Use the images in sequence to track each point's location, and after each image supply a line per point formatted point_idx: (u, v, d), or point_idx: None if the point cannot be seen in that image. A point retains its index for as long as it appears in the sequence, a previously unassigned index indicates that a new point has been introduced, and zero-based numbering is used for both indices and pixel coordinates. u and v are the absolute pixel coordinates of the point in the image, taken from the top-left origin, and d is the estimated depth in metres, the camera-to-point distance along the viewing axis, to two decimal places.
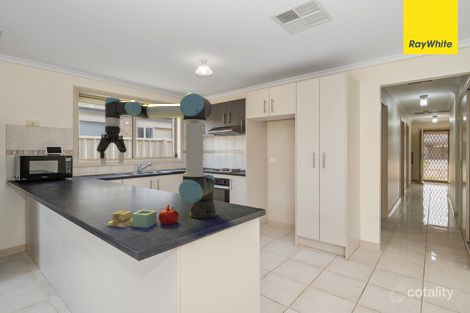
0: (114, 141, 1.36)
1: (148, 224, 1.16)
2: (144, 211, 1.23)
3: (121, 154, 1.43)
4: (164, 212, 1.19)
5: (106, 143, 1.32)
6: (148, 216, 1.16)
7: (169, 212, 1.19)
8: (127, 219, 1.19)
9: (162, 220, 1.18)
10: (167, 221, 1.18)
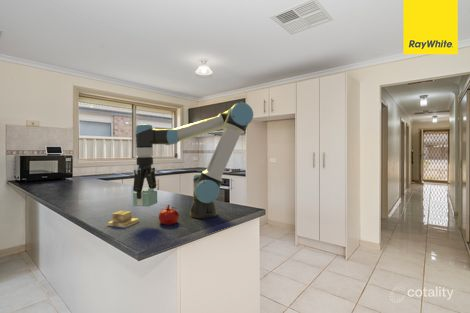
0: (147, 174, 1.19)
1: (150, 203, 1.16)
2: (145, 191, 1.23)
3: None
4: (164, 212, 1.19)
5: (141, 179, 1.15)
6: (149, 195, 1.16)
7: (169, 212, 1.19)
8: (127, 219, 1.19)
9: (162, 220, 1.18)
10: (167, 221, 1.18)
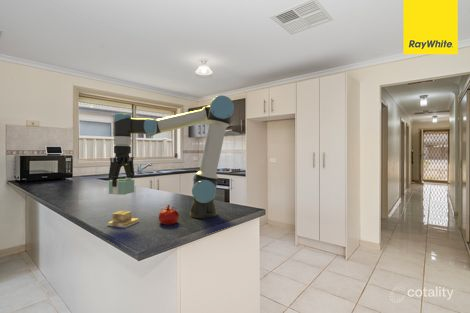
0: (124, 163, 1.19)
1: (125, 191, 1.16)
2: (122, 180, 1.23)
3: None
4: (164, 212, 1.19)
5: (117, 168, 1.16)
6: (125, 183, 1.16)
7: (169, 212, 1.19)
8: (127, 219, 1.19)
9: (162, 220, 1.18)
10: (167, 221, 1.18)
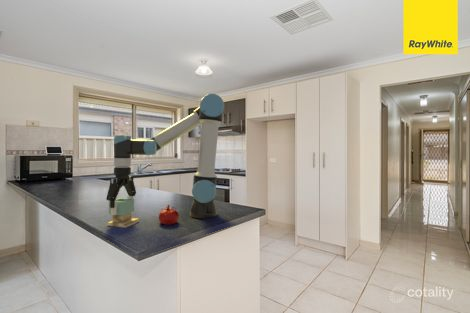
0: (124, 184, 1.19)
1: (125, 212, 1.17)
2: (122, 199, 1.23)
3: (130, 198, 1.25)
4: (164, 212, 1.19)
5: (116, 189, 1.15)
6: (125, 203, 1.16)
7: (169, 212, 1.19)
8: (127, 219, 1.19)
9: (162, 220, 1.18)
10: (167, 221, 1.18)
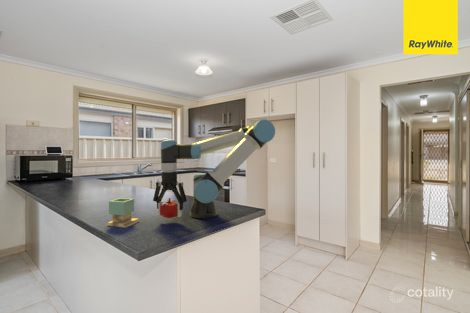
0: (168, 188, 1.21)
1: (125, 212, 1.17)
2: (122, 199, 1.23)
3: None
4: (165, 205, 1.19)
5: None
6: (125, 203, 1.16)
7: (170, 205, 1.19)
8: (127, 219, 1.19)
9: (164, 213, 1.18)
10: (168, 214, 1.18)
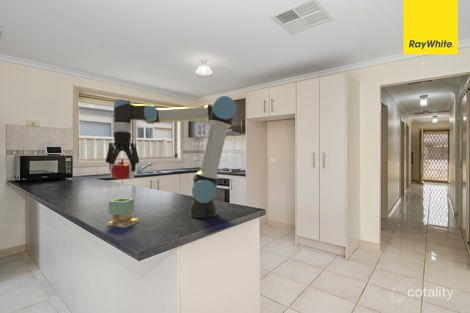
0: (121, 149, 1.18)
1: (125, 212, 1.17)
2: (122, 199, 1.23)
3: None
4: (116, 165, 1.16)
5: None
6: (125, 203, 1.16)
7: (122, 165, 1.16)
8: (127, 219, 1.19)
9: (114, 173, 1.15)
10: (119, 173, 1.15)
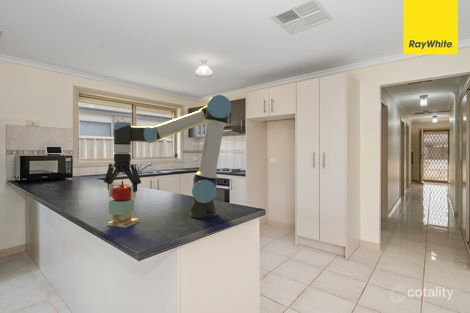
0: (121, 171, 1.18)
1: (125, 212, 1.17)
2: None
3: None
4: (117, 188, 1.17)
5: None
6: (125, 203, 1.16)
7: (122, 188, 1.16)
8: (127, 219, 1.19)
9: (114, 196, 1.15)
10: (119, 196, 1.15)
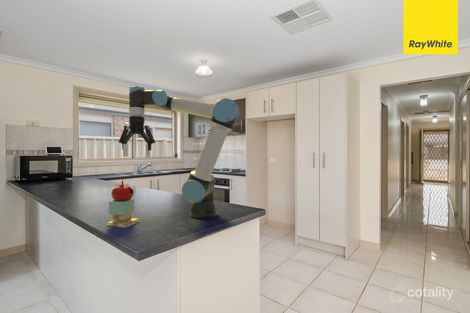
0: (135, 132, 1.29)
1: (125, 212, 1.17)
2: None
3: None
4: (117, 188, 1.17)
5: None
6: (125, 203, 1.16)
7: (122, 188, 1.16)
8: (127, 219, 1.19)
9: (114, 196, 1.15)
10: (119, 196, 1.15)
